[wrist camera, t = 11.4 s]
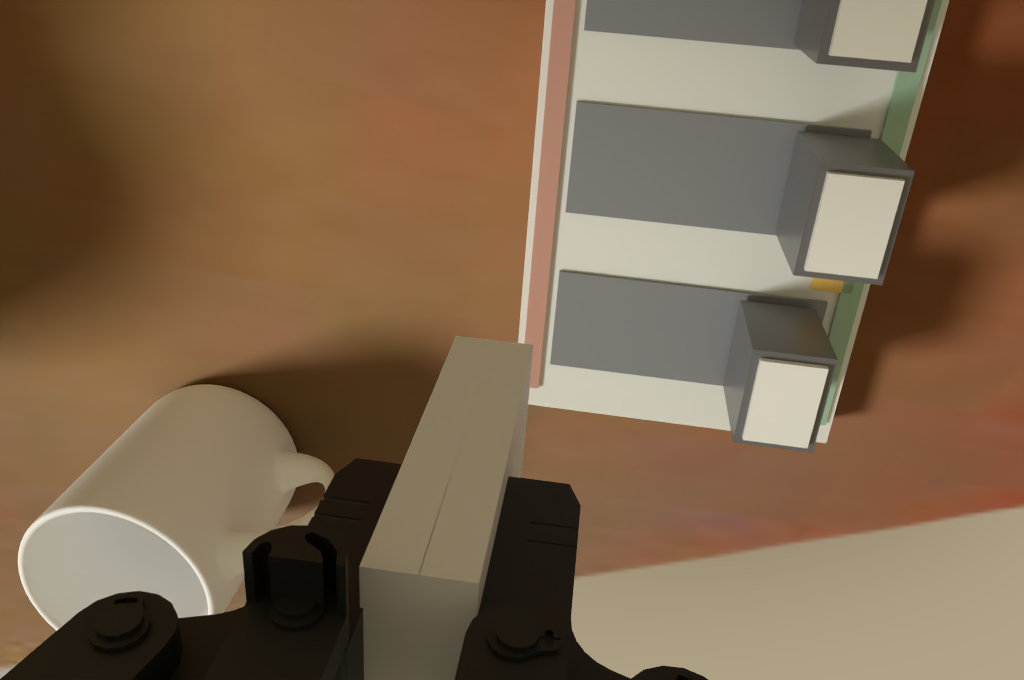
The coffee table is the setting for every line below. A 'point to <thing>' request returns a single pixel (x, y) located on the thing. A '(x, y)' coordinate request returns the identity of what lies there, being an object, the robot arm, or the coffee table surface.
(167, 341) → the coffee table surface
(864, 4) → the block
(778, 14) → the panel
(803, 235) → the block
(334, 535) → the robot arm
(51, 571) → the mug
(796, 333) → the block
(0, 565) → the coffee table surface
